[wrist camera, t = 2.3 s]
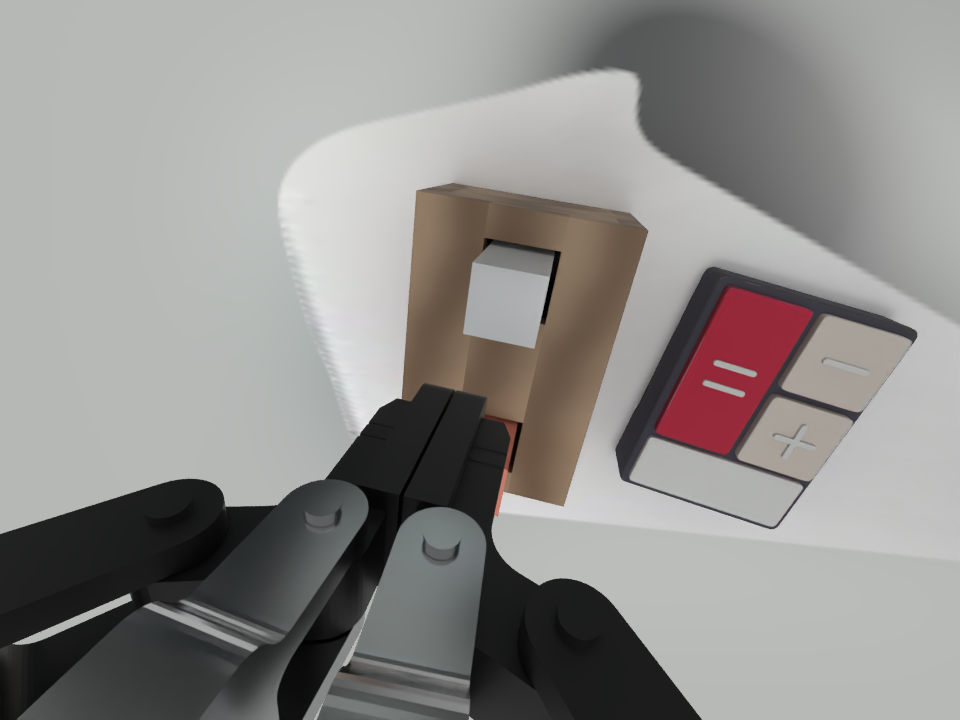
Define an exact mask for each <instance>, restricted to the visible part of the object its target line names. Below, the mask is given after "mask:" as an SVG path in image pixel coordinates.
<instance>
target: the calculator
mask: <svg viewBox="0 0 960 720" xmlns="http://www.w3.org/2000/svg"><path fill="white" fill-rule="evenodd" d="M916 338H917V332H916V331H915V330H914V329H912V328H910V327H907V326H905V325H902V324H900V323H898V322H895V321H893V320H890V319H888V318H885V317H883V316H880V315H877V314H873V313H870V312H866V311H863V310H860V309H856V308H853V307H849V306H846V305H843V304H839V303H836V302H832V301H829V300H825V299H822V298H819V297H815V296H812V295H808V294H805V293H802V292H798V291H795V290H791V289H788V288H785V287H781V286H778V285H774V284H771V283H767V282H764V281H761V280H757V279H754V278H750V277H747V276H744V275H740V274H737V273H733V272H730V271H726V270H723V269H719V268H715V267H711V268H709V269H707V270H706V271H705V273H704V274H703V276H702V278H701V280H700V282H699V284H698V286H697V288H696V290H695V292H694V294H693V296H692V298H691V300H690V302H689V304H688V306H687V308H686V310H685V312H684V314H683V316H682V318H681V320H680V322H679V324H678V326H677V328H676V330H675V332H674V334H673V336H672V338H671V340H670V342H669V344H668V346H667V348H666V350H665V352H664V354H663V356H662V358H661V361H660V363H659V365H658V367H657V369H656V371H655V373H654V375H653V377H652V379H651V381H650V383H649V385H648V388H647V390H646V392H645V394H644V396H643V398H642V400H641V402H640V404H639V406H638V407H637V408H636V409H635V411H634V413H633V415H632V417H631V419H630V421H629V423H628V425H627V427H626V429H625V431H624V433H623V435H622V437H621V439H620V441H619V443H618V445H617V447H616V456H617V462H618V467H619V472H620V477H621V479H622V480H624V481H626V482H629V483H632V484H635V485H638V486H641V487H644V488H647V489H650V490H653V491H656V492H659V493H662V494H665V495H668V496H671V497H674V498H677V499H680V500H683V501H686V502H689V503H692V504H695V505H698V506H701V507H704V508H707V509H710V510H713V511H716V512H719V513H722V514H725V515H728V516H731V517H734V518H738V519H741V520H744V521H747V522H750V523H753V524H756V525H759V526H762V527H765V528H768V529H775V528H777V527H778V526H779V524H780V523H781V522H782V520H783V519H784V518H785V516H786V515H787V514H788V512H789V511H790V509H791V508H792V507H793V505H794V504H795V503H796V501H797V500H798V499H799V497H800V496H801V495H802V493H803V492H804V490H805V489H806V488H807V486H808V485H809V484H810V482H811V481H812V480H813V478H814V477H815V476H816V474H817V473H818V472H819V470H820V469H821V467H822V466H823V465H824V463H825V462H826V461H827V459H828V458H829V457H830V455H831V454H832V453H833V451H834V450H835V448H836V447H837V446H838V444H839V443H840V442H841V440H842V439H843V438H844V436H845V435H846V434H847V432H848V431H849V429H850V428H851V427H852V425H853V424H854V423H855V421H856V420H857V419H858V417H859V416H860V415H861V413H862V412H863V411H864V409H865V408H866V406H867V405H868V404H869V402H870V401H871V400H872V398H873V397H874V396H875V394H876V393H877V392H878V390H879V389H880V387H881V386H882V385H883V383H884V382H885V381H886V379H887V378H888V377H889V375H890V374H891V373H892V371H893V370H894V369H895V367H896V366H897V364H898V363H899V362H900V360H901V359H902V358H903V356H904V355H905V354H906V352H907V351H908V350H909V348H910V347H911V345H912V344H913V343H914V341H915V340H916Z"/></svg>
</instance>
